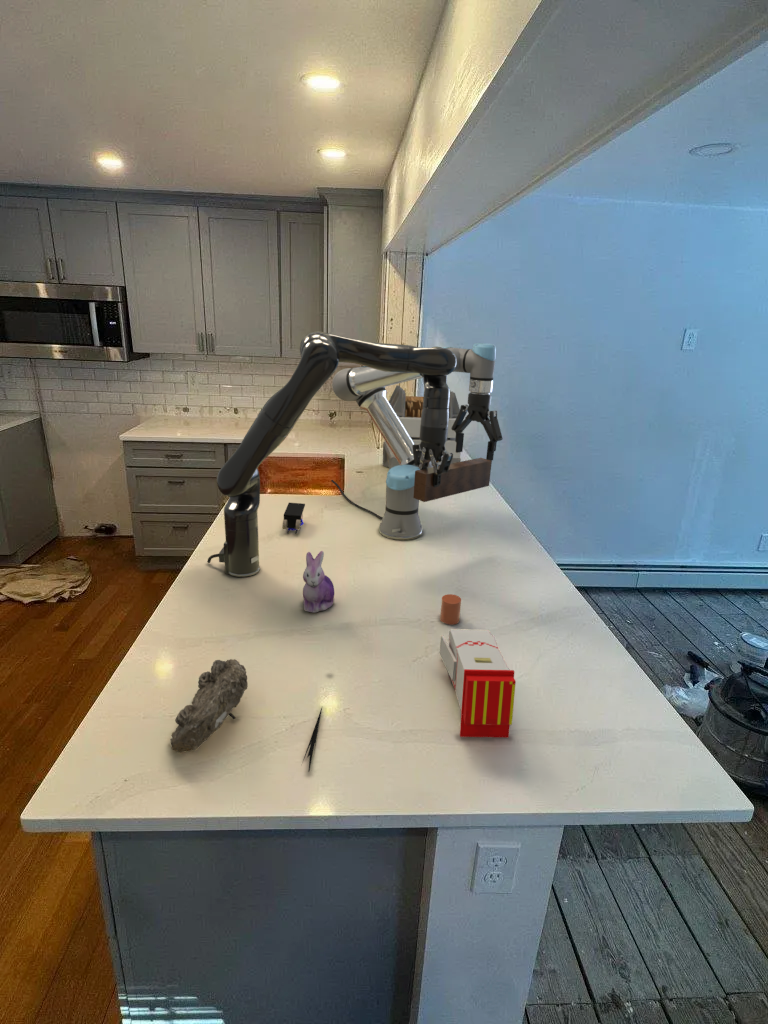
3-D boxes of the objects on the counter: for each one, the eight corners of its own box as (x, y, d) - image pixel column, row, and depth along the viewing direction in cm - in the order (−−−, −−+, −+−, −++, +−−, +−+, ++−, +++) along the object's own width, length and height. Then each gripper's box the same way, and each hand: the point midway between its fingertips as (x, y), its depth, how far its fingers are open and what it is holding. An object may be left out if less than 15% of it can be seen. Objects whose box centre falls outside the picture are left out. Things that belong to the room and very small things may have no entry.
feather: (331, 679, 122) (336, 673, 122) (307, 777, 96) (313, 769, 95) (324, 675, 122) (329, 669, 121) (298, 772, 95) (304, 764, 95)
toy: (489, 613, 130) (525, 677, 101) (485, 667, 133) (518, 744, 104) (437, 612, 130) (457, 676, 101) (434, 666, 133) (453, 743, 103)
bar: (424, 502, 157) (426, 474, 154) (413, 497, 160) (415, 470, 157) (489, 485, 174) (492, 460, 171) (478, 482, 177) (480, 457, 174)
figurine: (308, 617, 144) (307, 563, 139) (294, 599, 152) (294, 548, 147) (342, 610, 148) (343, 557, 143) (327, 592, 156) (328, 542, 151)
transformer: (381, 463, 289) (385, 382, 275) (444, 464, 292) (450, 384, 279) (389, 482, 257) (393, 392, 243) (459, 483, 261) (467, 394, 247)
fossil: (195, 660, 117) (247, 628, 112) (227, 691, 120) (279, 661, 115) (146, 746, 98) (206, 711, 93) (185, 779, 101) (245, 748, 96)
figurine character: (301, 540, 194) (306, 519, 208) (300, 520, 191) (305, 501, 204) (281, 539, 194) (287, 519, 207) (280, 519, 191) (287, 500, 204)
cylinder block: (435, 618, 146) (437, 597, 144) (449, 612, 149) (451, 592, 147) (450, 626, 143) (452, 605, 141) (463, 620, 146) (465, 599, 144)
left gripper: (406, 420, 156) (402, 479, 162) (443, 429, 146) (438, 493, 152) (425, 418, 161) (421, 476, 167) (463, 427, 151) (457, 488, 156)
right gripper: (444, 388, 192) (439, 449, 199) (503, 399, 174) (495, 466, 181) (459, 387, 196) (454, 447, 203) (518, 397, 179) (510, 462, 186)
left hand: (429, 483), depth 159 cm, fingers closed on bar, 4 cm apart
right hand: (473, 456), depth 192 cm, fingers open, 13 cm apart
